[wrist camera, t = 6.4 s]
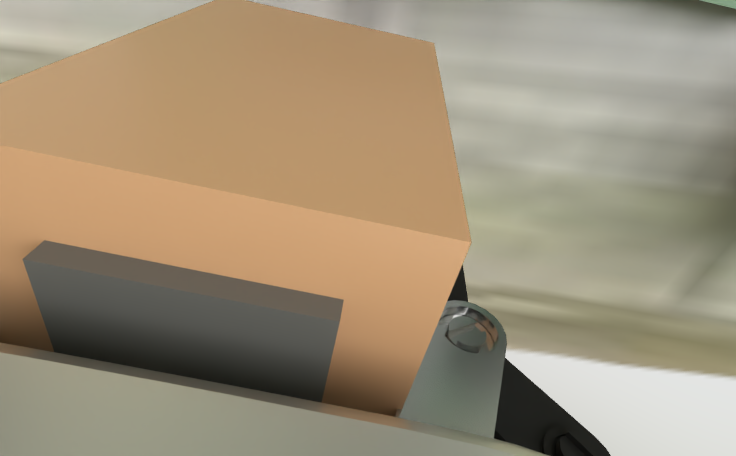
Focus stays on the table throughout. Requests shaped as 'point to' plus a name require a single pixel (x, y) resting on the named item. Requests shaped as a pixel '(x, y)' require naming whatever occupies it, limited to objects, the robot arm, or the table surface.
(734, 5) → the green walled tray
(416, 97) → the chute block
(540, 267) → the table surface
